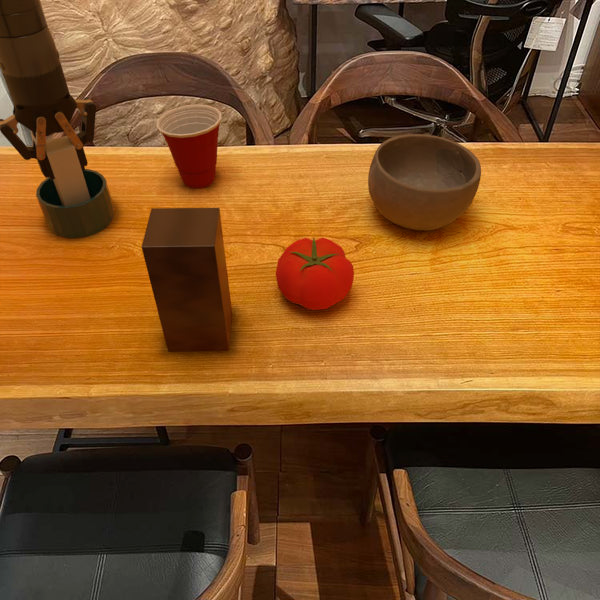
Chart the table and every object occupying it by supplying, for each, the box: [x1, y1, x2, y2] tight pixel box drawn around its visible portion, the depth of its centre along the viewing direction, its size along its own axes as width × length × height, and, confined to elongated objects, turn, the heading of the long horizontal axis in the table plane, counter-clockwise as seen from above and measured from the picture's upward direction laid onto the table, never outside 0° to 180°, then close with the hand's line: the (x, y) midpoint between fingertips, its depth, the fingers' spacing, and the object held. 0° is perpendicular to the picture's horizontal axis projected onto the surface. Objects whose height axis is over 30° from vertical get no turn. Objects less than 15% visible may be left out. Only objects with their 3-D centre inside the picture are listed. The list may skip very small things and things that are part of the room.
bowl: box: [367, 133, 482, 231], centre depth 94 cm, size 17×18×10 cm
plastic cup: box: [155, 104, 222, 189], centre depth 100 cm, size 11×11×12 cm
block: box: [45, 135, 91, 206], centre depth 91 cm, size 4×4×11 cm
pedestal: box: [141, 207, 233, 352], centre depth 73 cm, size 8×7×18 cm
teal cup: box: [35, 168, 115, 239], centre depth 94 cm, size 11×11×6 cm
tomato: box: [275, 236, 355, 311], centre depth 82 cm, size 11×11×8 cm
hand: (66, 172), depth 90 cm, fingers closed on block, 4 cm apart
